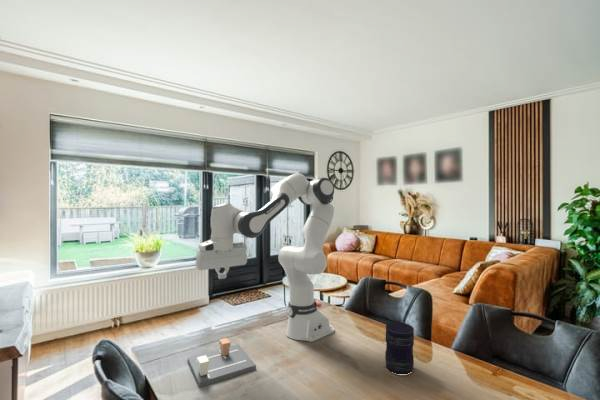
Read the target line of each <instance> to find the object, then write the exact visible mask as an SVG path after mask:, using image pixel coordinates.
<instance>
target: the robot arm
mask: <svg viewBox="0 0 600 400" xmlns="http://www.w3.org/2000/svg"><path fill="white" fill-rule="evenodd" d="M334 194H335V186H334V183H333V181H332V180H331V179H330V178H327V177H318V178H316V179H313V180H310V181H309V180H308V179H307V177H306V176H305V175H304V174H303V173H299V172H295V173H293V174H290V175H288V176H286V177H284V178H283V179H281V180H280V181H278V182H277V183H275V184H274V185H273V186H272V187H271V189H270V190H269V197H270V201H269V202H267V203H266V204H265V205H264V206H263V207H261V208H260V209H259V210H255V211H245V210H242V209H239V208H238V207H235V206H234V205H233V204H231V203H228V202H227V203H226V202H225V203H220V204H216V205H214V206H213V207H212V208H211V211H210V213H211V214H210V229H211V232H210V233H211V234H210V239H208V240H206V241H203V242H201V243H199V244H198V249H199V250H198V251H197V253H196V258H195V268H196V269H197V270H199V271H206V270H215V272H216V274H217V278H218V279H219V280H221V279H222V280H223V279H226V278H227V274H228V272H229V271H230V268H231V267H238V266H245V265H246V264H247V263H248V256H247V249H248V247H247V246H248V245H247V244H246V243H244V242H242V241H240V242H234V234H239V235H241V236H244V237H246V238H249V239H254V238H255V239H256V238H257V237H260V236H261V235H262V233H264V231H265V229H266V227H267V226H268V224H269V223H271V222H272V221H273V220H274V219H275V218H276V217H278V215H280V214H281V212H283V211H284V210H285V209H286V208H287V207H288V206H290V204H291V203H293V202H294V201H296V200H299V201H300V203H301V204H303V205H305V206H311V210H310V213H309V214H308V217H307V219H306V221H305V222H304V225H303V227H302V229H301V236H302V238H303V239H304V243H303V246H297V245H286V246H283V247H281V249H280V250H279V252H278V256H277V259H278V263H279V264H280V265H281V266H282V268H283V270H284V273H285V275H286V278H287V282H288V291H289V292H288V294H289V296H288V298H289V299H288V300H289V301H288V302H287V303H288V304H287V305H288V306H287V311H288V321H287V326H286V330H285V335H286V336H287V337H288V338H290V339H293V340H296V341H297V340H298V341H307V342H315V341H317V340H320V339H322V338H324V337H327V336H328V335H330V334H333V333H334V332H335V328H334V326H333V325H331V324H330V321H329V317H328V316H327V314H325V313H324V312H322V311H321V310H319V309H320V308H321V307H322V304H321V302H318V301H315V296H314V295H315V285H314V283H313V282H312V281H311V279H310V278H309V276H308V275H321V274H322V273H324V272H325V270H326V268H327V264H328V259H327V256H326V254H325V252H324V242H325V239H326V236H327V234H328V231H329V230H330V227H331V225H332V221H333V218H334V213H335V207H334V206H333V205H332V204H331V203H332V201H333V200H334ZM221 268H223V269H224V270H223V272H220V271H221ZM318 308H319V309H318Z"/></svg>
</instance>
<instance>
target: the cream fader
mask: <svg viewBox="0 0 600 400" xmlns="http://www.w3.org/2000/svg"><path fill="white" fill-rule="evenodd" d="M197 363H198V371H199V373H200V375H201V376H203V375H206V374H208V366H209V360H208V358H207V356H206V355H204V356H201V357H197Z"/></svg>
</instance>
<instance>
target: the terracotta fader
mask: <svg viewBox="0 0 600 400" xmlns="http://www.w3.org/2000/svg"><path fill="white" fill-rule="evenodd" d="M218 344H219V346H220V348H219V349H220V352H221V353H222V355H223V356H224V355H227V354H229V347H230V346H231V341H230V340H229V339H228V337H224V338H219V342H218Z"/></svg>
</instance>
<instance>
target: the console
mask: <svg viewBox="0 0 600 400" xmlns="http://www.w3.org/2000/svg"><path fill="white" fill-rule="evenodd" d="M204 355H206V356H207V358H208V360H209V366H208V374H206V375H203V376H201V375H200V373H199V371H198V363H197V357H201V356H204ZM187 364H188V365H189V367H190V370H191V372H192V374H193V377H194V378H195V380H196V383H197V386H198V387H199V388H201V387H204V386H206V385H209V384H213V383H216V382H220V381H223V380H226V379H230V378H232V377H235V376H239V375H241V374H245V373H248V372H251V371H252V372H253V371H254V370H255V371H256V370H257V364H256V363H255V362H254V361H253V359H252V358H251V357H250V356H249V355H248V354H247V352H246V351H245V350H244V349H243V348H242V346H241V345H240V344H234V345H230V347H229V354H227V355H224V356H223V355H222V353H221V352H220V348H219V349H215V350H211V351H208V352H207V351H206V352H204V353H203V352H202V353H200V354H195V355H192V356H187Z"/></svg>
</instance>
